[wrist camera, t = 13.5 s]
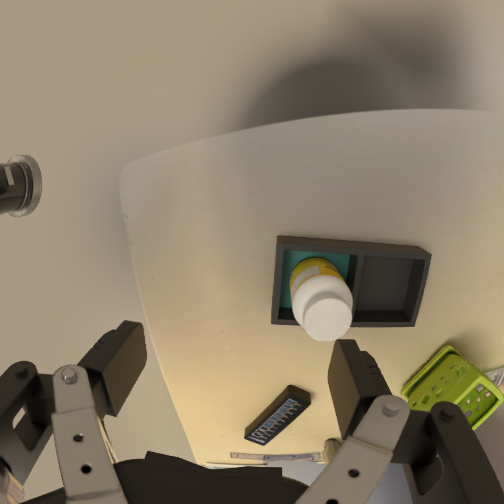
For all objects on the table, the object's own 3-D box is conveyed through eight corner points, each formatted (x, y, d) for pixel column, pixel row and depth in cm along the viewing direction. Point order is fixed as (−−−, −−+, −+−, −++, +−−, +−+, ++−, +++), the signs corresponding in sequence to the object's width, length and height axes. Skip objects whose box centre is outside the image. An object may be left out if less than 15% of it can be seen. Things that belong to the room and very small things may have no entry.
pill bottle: (340, 296, 38) (363, 342, 27) (293, 305, 39) (299, 355, 27) (334, 249, 36) (359, 283, 25) (284, 259, 37) (289, 297, 26)
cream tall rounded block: (353, 439, 47) (360, 469, 39) (339, 453, 48) (344, 482, 40) (330, 435, 46) (335, 466, 39) (316, 449, 48) (319, 479, 40)
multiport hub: (311, 393, 43) (312, 403, 41) (264, 437, 47) (263, 446, 45) (289, 384, 43) (289, 393, 41) (244, 429, 47) (243, 438, 45)
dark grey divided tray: (271, 309, 40) (271, 324, 36) (277, 235, 37) (277, 243, 33) (403, 313, 39) (414, 326, 35) (418, 246, 36) (431, 254, 32)
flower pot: (388, 388, 43) (411, 440, 30) (445, 330, 39) (483, 372, 27) (427, 410, 44) (448, 453, 32) (476, 360, 40) (507, 398, 28)
